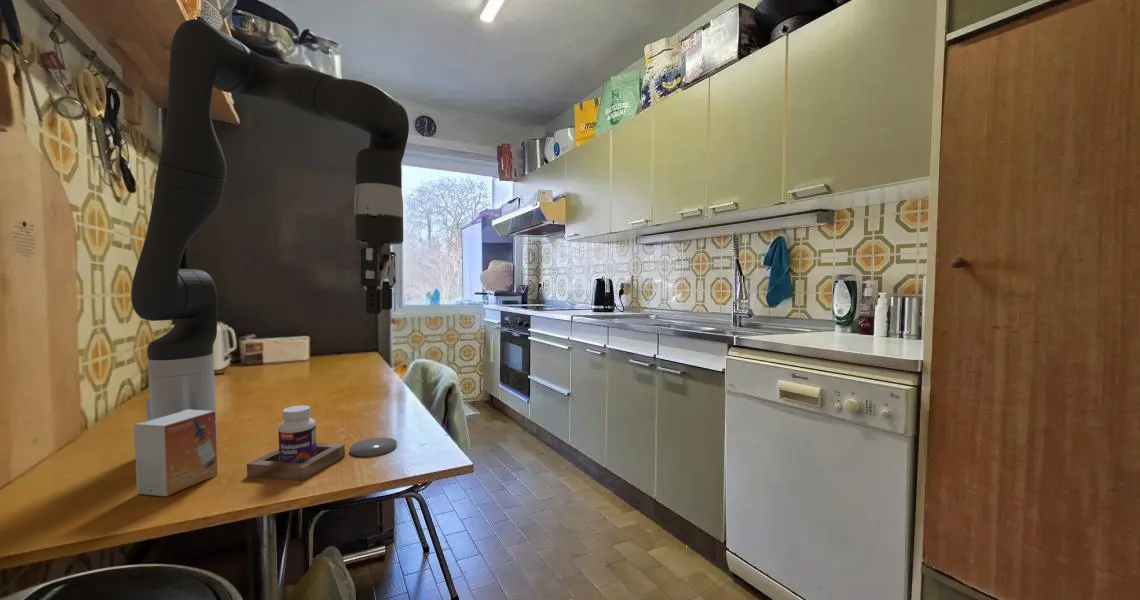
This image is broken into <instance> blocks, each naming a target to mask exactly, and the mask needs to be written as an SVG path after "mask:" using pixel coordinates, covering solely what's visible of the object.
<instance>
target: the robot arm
mask: <svg viewBox="0 0 1140 600" xmlns="http://www.w3.org/2000/svg"><path fill="white" fill-rule="evenodd" d="M169 51H170V52H169V53H170V54H169V65H168V66H169V70H168V71H169V72H168V95H167V96H168V97H167V109H166V110H167V111H166V117H165V126H164V134H163V140H162V145H161V151H160V155H159V158H158V163H157V169H156V170H157V171H156V174H155V175H156V176H155V183H154V191H153V199H152V205H151V209H150V217H149V222H148V226H147V230H146V235H145V238H144V242H143V245H142V249H141V251H140V255H139V259H138V260H137V261H138V262H137V265H136V268H135V270H134V275H133V277H132V283H131V288H130V299H131V300H130V301H131V305H132V309H133V311H134V312H135V314H136V315H138V317H139V318H141V319H143V320H145V321H149V322H153V321H156V322H157V321H162V322H163V321H173V320H174V325H173V327H172V328H171V329H170V330H169V331H168V332H167V333H166V334H164V335H162V336H160V337H158V338H157V339H155V340H152V341H151V342H150V343H148V345H147V366H148V367H147V368H148V369H147V370H148V385H149V386H148V387H149V388H148V389H149V398H148V399H147V400H146V402H145V406H146V409H145V410H146V421H150V420H154V419H157V418H161V417H164V416H168V415H171V414H175V413H178V412H182V411H184V410H187V409H190V410H206V411H215V421H216V422H217V406H216V405H217V404H216V386H215V385H216V384H215V383H216V382H215V365H214V344H215V341H216V339H217V335H218V305H219V304H218V303H219V302H218V300H219V299H218V298H219V297H218V290H217V286H216V284H215V281H214V279H213V278H212V276H211V275H210V274H209V273H207V272H206V271H204V270H202V269H197V268H196V269H194V268H180V266H181V262H182V259H183V257H184V256H183V255H184V253H185V251H186V248H187V246H188V244H189V243H190V241H191V240H192V239H193V238H194V236H196V234H197V233H198V232H199V231H200V230H201V229H202V228H203V227H204V226H205V225H206V224H207V222H209V221H210V220H211V219H212V217H213V216H214V215H215V213H216V212H218V209H219V208H220V206H221V204H222V201H223V196H224V192H225V186H226V180H227V173H228V167H227V161H226V157H225V154H224V151H223V148H222V146H221V144H220V141H219V139H218V136H217V134H216V130H215V128H214V124H213V121H212V114H211V112H212V111H211V108H212V107H211V106H212V105H211V104H212V96H213V94H212V93H213V88H214V89H217V90H219V91H222V92H225V93H229V94H235V95H242V96H248V97H249V96H250V97H256V98H257V97H258V98H264V99H268V100H272V101H276V102H280V103H282V104H284V105H288V106H290V107H292V108H295V109H297V110H300V111H303V112H305V113H308V114H311V115H314V116H317V117H320V118H323V119H325V120H328V121H331V122H337V123H339V122H340V123H342V122H343V123H345V124H348V125H351V126H353V127H356V128H358V129H360V130H362V131H364V132H366V133H368V134H369V136H370V139H369V145H368V147H366V148H362V149H360V150H359V151H358V152H357V153H356V156H355V191H354V201H353V203H354V216H353V217H354V219H353V220H354V241H356V243H360V244H367V247H360V248H361V249H360V281H359V282H360V283H359V284H360V286H361V287H363V289H364V290H365V312H366V314H367V315H379V314H381V313H382V311H384V310H386V311H387V310H388V311H390V310H391V309H393V289H394V287H395V285H396V282H397V280H396V276H397V275H396V256H397V255H396V251H391V246H392V245H401V244H402V243H404V198H403V193H402V192H403V191H402V163H403V158H404V156H405V151H406V147H407V143H408V142H407V141H408V138H409V132H410V123H409V117H408V113H407V111H406V108H405V107H404V105H403V104H402V103H401V102H399V101H398V100H397V99H395V97H392V96H390V95H389V94H388V93H387V92H385V91H384V90H383V89H381V88H379V87H378V86H376V85H373V84H372V83H368V82H365V81H361V80H356V79H350V78H341V77H338V76H335V75H332V74H329V73H325V72H323V71H319V70H316V69H313V68H310V67H305V66H298V65H285V64H284V65H283V64H280V63H277V62H274V61H272V60H270V59H268V58H266V57H264V56H263V55H260V54H259V53H257V52H255V51H254V50H252V49H250V48H249V47H247V46H246V45H245V44H243V43H242V42H241V41H240V40H237V39H236V38H234V37H233V36H231V35H229V34H228V33H226V32H223V31H222V30H220V29H218V28H216V27H215V26H212V25H211V24H209V23H207V22H205V21H202V20H199V19H194V18H193V19H188V20H186V21H183V22H182V23H181V24H180V25H179V26H178V27H177V29H176V31H175V32H174V35H173V37H172V42H171V45H170V50H169ZM217 427H218V425H217V424H216V444H217V443H218V430H217V429H218V428H217Z"/></svg>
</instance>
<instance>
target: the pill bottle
mask: <svg viewBox="0 0 1140 600" xmlns="http://www.w3.org/2000/svg"><path fill="white" fill-rule="evenodd" d="M311 411H312V410H311V407H310V405H292V406H289V407H286V408H284V409H283V410H282V419H283V420H284V421H283V422H281V423H280V424H279V426H278V449H279V462H288V463H303V462H305V461H307V460H308V459H310V458H312V457H314V456H316V455H317V453H316V443H317V424H316V420H315V419H313V418H311V415H312V414H311Z"/></svg>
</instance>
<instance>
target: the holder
mask: <svg viewBox="0 0 1140 600" xmlns="http://www.w3.org/2000/svg"><path fill="white" fill-rule="evenodd" d="M345 447H346V446H345V444H344V443H343V444H342V443H341V444H340V443H339V444H338V443H323V442H316V453H317V455H316V456H314V457H312V458H310V459H308V460H307V461H305V462H303V463H288V462H279V448H278V449H276V450H274V451H271V452H269V453H266V454H265V455H263V456H260V457H258V458H256V459H254V460H252V461H250V462H248V463H246V474H247V475H246V476H247V477H252V478H267V479H277V480H278V479H279V480H293V481H294V480H295V481H304V480H306V479H308V478H310V477H311V476H313V475H314V474H316V473H318V472H321V470H323V469H325V468H326V467H329V466H330V465H331V464H334V463H335V462H336V461H338V459H339V460H340V459H341V458H343V457H345V456H346V452H345Z"/></svg>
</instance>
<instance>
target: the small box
mask: <svg viewBox="0 0 1140 600" xmlns="http://www.w3.org/2000/svg"><path fill="white" fill-rule="evenodd" d="M216 425H217V420H216V421H215V411H206V410H190V409H187V410H184V411H182V412H178V413H175V414H171V415H168V416H164V417H161V418H157V419H154V420H150V421H147V420H146V421H143V422H138V423H134V424H133V434H134V437H133V438H134V453H135V454H134V455H135V476H136V478H135V479H136V480H135V481H136V493H137V494H138V495H146V496H158V497H169V496H171V495H174V494H175V493H177V492H180V491H182V490H185V489H186V488H189V487H191V486H194V485H196V484H199V483H201V482H203V481H206V480H208V479H211V478H214V477H216V476H217V475H218V454H217V453H218V452H217V451H218V450H217V443H216Z"/></svg>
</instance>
